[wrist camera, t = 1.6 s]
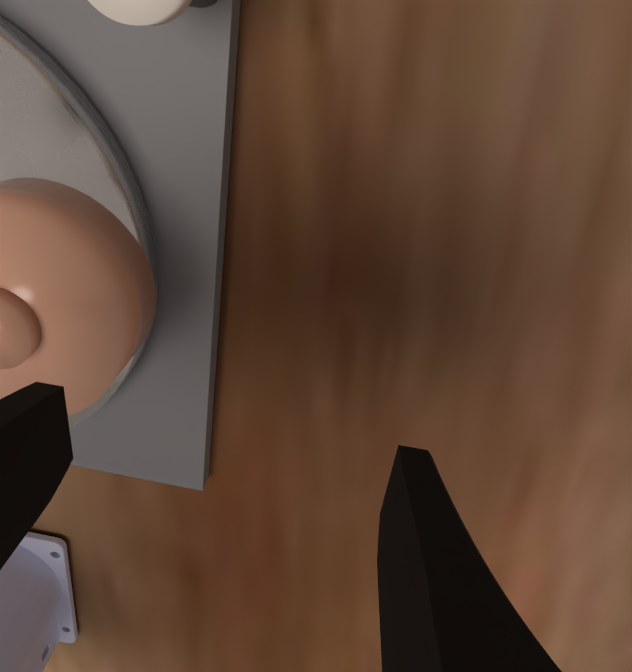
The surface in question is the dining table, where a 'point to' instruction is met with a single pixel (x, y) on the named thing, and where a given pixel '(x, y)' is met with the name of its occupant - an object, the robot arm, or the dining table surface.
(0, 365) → the cover
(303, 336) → the dining table surface
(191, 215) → the base plate
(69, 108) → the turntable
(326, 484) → the dining table surface
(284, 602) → the dining table surface
